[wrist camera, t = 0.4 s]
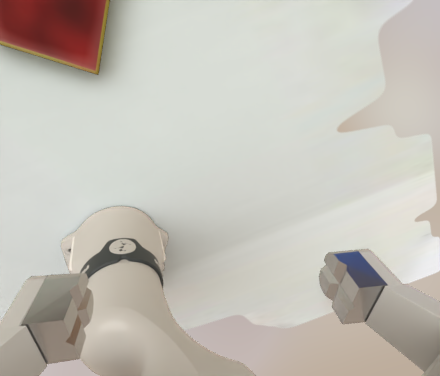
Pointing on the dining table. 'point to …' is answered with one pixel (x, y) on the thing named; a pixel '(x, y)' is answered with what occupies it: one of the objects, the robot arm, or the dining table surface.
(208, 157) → the dining table surface
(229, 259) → the dining table surface
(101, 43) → the hardcover book
